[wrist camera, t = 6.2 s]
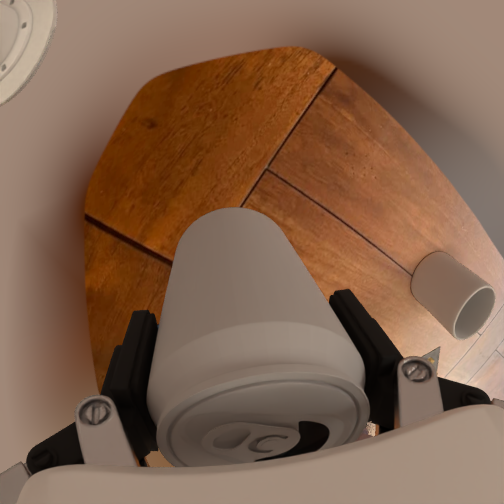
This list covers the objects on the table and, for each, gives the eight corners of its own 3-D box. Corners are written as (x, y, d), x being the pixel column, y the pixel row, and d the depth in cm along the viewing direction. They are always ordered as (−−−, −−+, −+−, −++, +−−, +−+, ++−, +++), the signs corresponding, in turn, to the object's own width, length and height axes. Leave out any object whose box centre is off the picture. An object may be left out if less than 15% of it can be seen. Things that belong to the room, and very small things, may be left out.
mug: (400, 284, 41) (443, 327, 31) (436, 239, 39) (486, 273, 29) (434, 317, 45) (470, 355, 35) (465, 279, 43) (506, 312, 33)
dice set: (432, 370, 51) (437, 376, 50) (412, 381, 51) (416, 387, 50) (434, 354, 49) (439, 360, 48) (413, 366, 49) (418, 372, 48)
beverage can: (252, 319, 20) (294, 496, 9) (158, 279, 18) (117, 467, 7) (307, 236, 18) (426, 389, 7) (208, 182, 16) (207, 317, 5)
